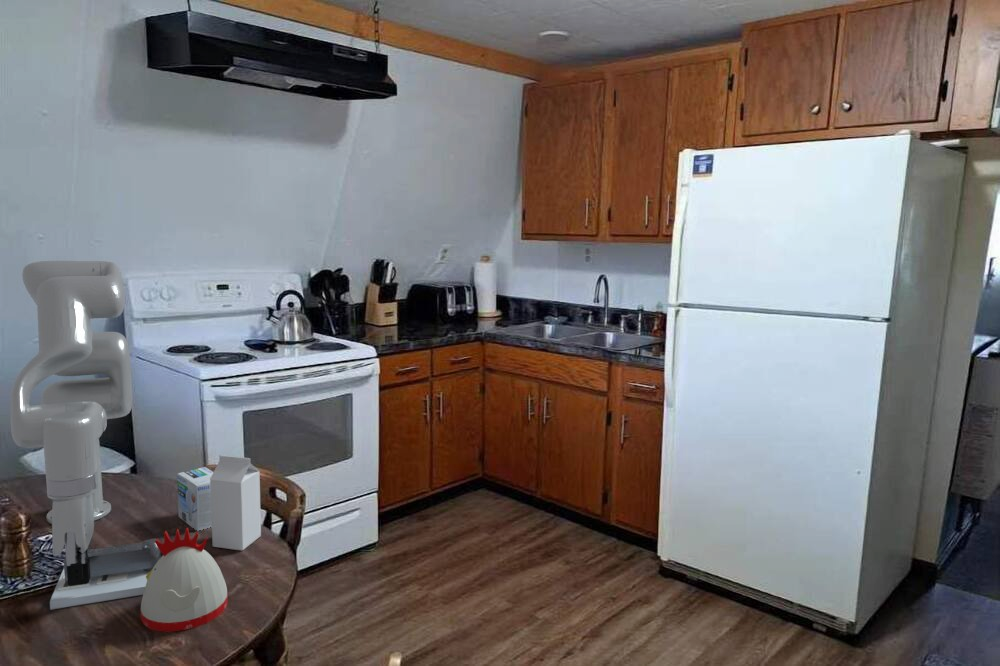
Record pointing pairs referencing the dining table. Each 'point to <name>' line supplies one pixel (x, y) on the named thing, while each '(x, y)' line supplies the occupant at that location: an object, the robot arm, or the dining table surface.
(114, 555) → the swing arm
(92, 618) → the dining table surface
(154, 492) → the dining table surface
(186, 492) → the light bulb box
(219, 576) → the kitchen timer
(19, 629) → the dining table surface
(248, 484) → the milk carton
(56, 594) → the label board
